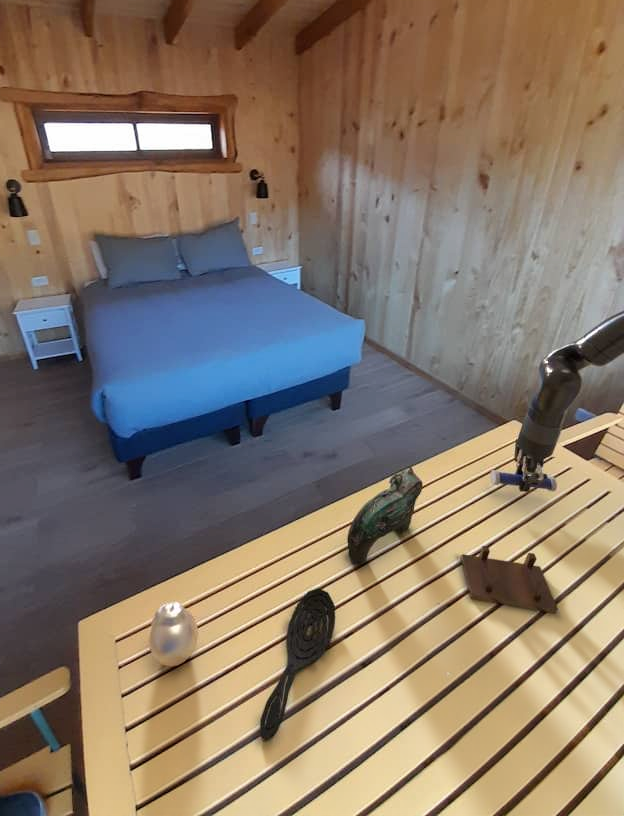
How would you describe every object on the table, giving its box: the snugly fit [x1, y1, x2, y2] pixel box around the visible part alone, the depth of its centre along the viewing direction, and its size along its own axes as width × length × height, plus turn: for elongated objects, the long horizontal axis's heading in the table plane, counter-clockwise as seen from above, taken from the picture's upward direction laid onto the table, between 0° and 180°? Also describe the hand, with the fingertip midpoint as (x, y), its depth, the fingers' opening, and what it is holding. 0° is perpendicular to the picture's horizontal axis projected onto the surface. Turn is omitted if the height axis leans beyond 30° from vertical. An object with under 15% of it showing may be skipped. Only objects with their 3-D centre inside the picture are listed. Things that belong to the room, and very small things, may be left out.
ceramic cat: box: [346, 466, 423, 566], centre depth 90 cm, size 20×6×20 cm, turn 123°
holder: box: [460, 545, 559, 614], centre depth 84 cm, size 16×9×7 cm, turn 79°
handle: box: [490, 469, 558, 493], centre depth 103 cm, size 14×4×4 cm, turn 79°
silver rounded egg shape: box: [148, 601, 199, 667], centre depth 74 cm, size 9×10×10 cm
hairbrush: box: [259, 587, 336, 742], centre depth 73 cm, size 8×4×25 cm
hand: (521, 485), depth 103 cm, fingers closed on handle, 3 cm apart
